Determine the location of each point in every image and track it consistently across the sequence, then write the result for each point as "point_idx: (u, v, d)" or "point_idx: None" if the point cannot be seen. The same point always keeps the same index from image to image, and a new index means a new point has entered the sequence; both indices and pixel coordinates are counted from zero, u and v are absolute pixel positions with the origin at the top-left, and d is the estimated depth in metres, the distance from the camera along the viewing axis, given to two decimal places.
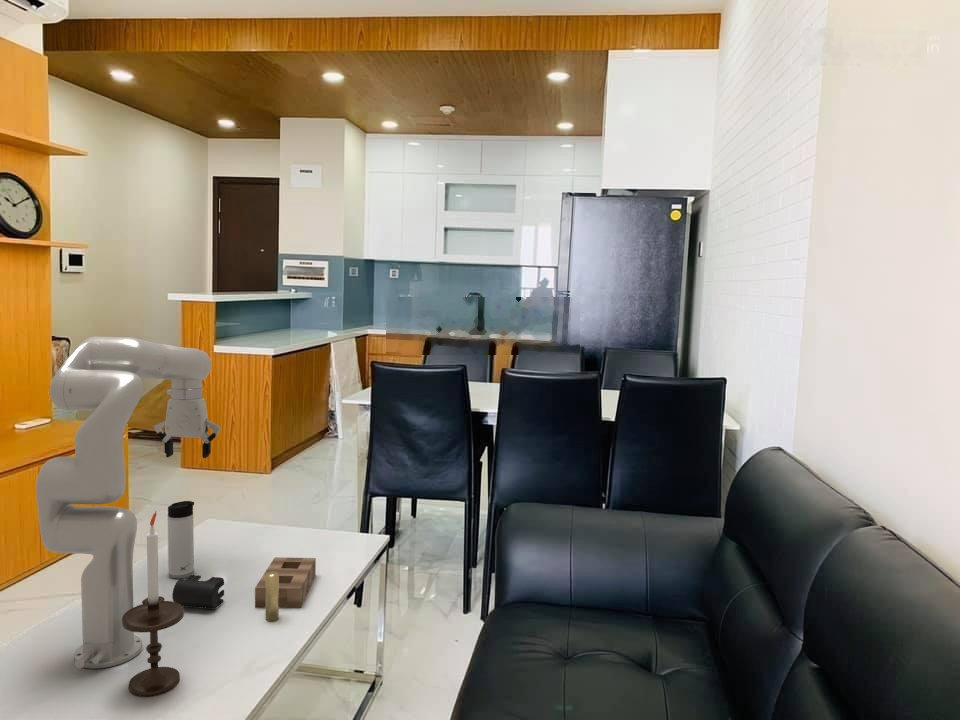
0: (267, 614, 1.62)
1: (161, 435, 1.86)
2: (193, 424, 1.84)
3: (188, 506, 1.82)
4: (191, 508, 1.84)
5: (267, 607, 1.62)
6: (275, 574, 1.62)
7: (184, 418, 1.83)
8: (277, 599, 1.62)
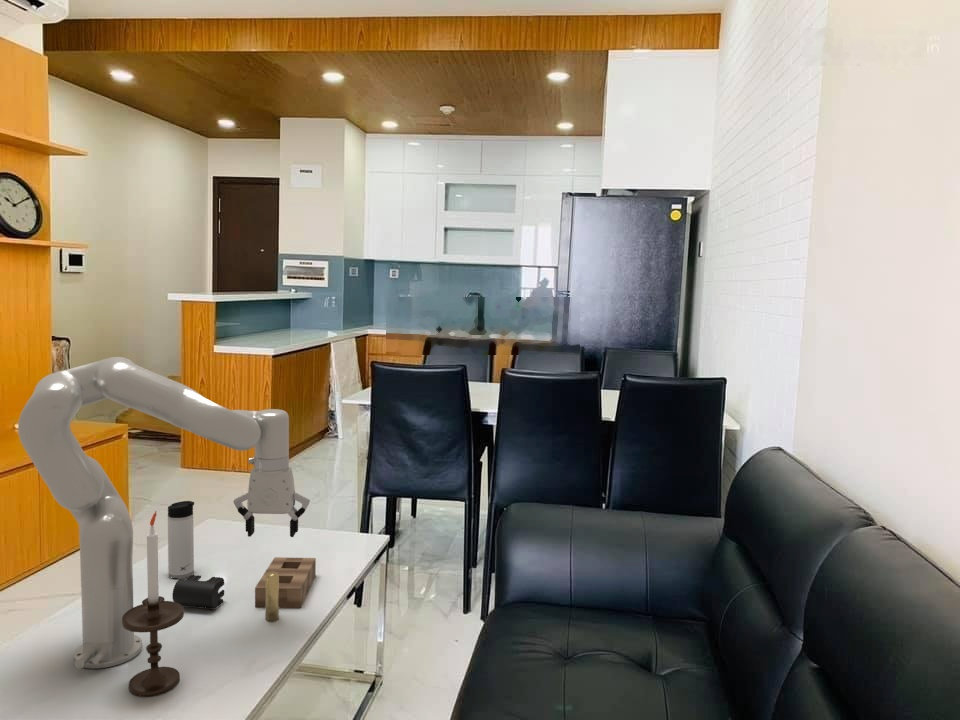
0: (267, 614, 1.62)
1: (242, 511, 1.59)
2: (280, 499, 1.58)
3: (188, 506, 1.82)
4: (191, 508, 1.84)
5: (267, 607, 1.62)
6: (275, 574, 1.62)
7: (270, 492, 1.57)
8: (277, 599, 1.62)
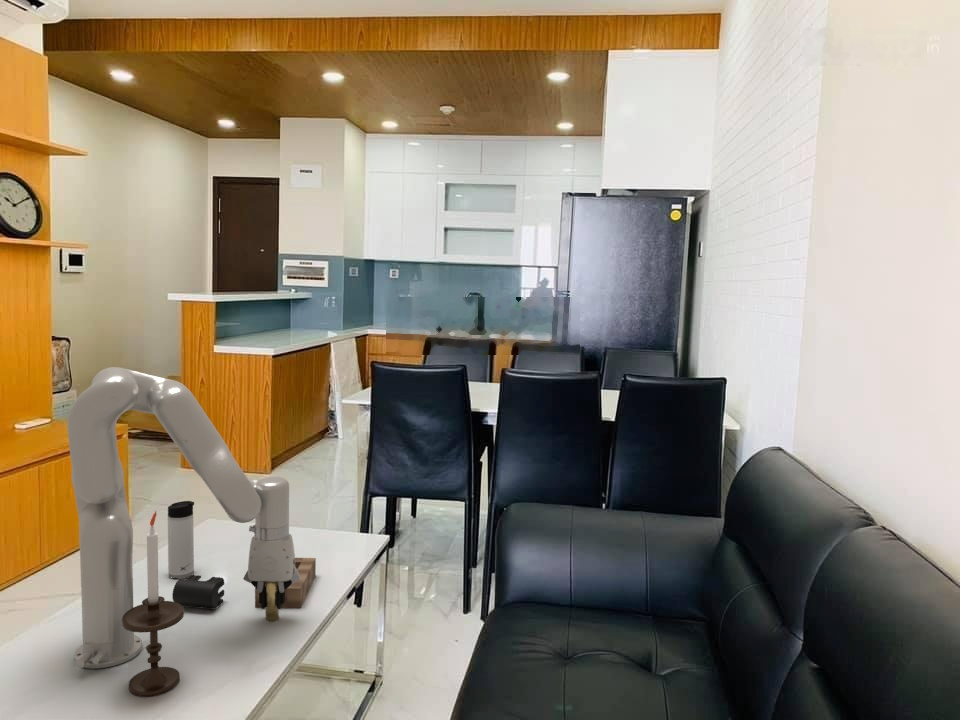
0: (267, 614, 1.62)
1: (255, 583, 1.61)
2: (280, 567, 1.59)
3: (188, 506, 1.82)
4: (191, 508, 1.84)
5: (267, 607, 1.62)
6: None
7: (270, 560, 1.59)
8: None
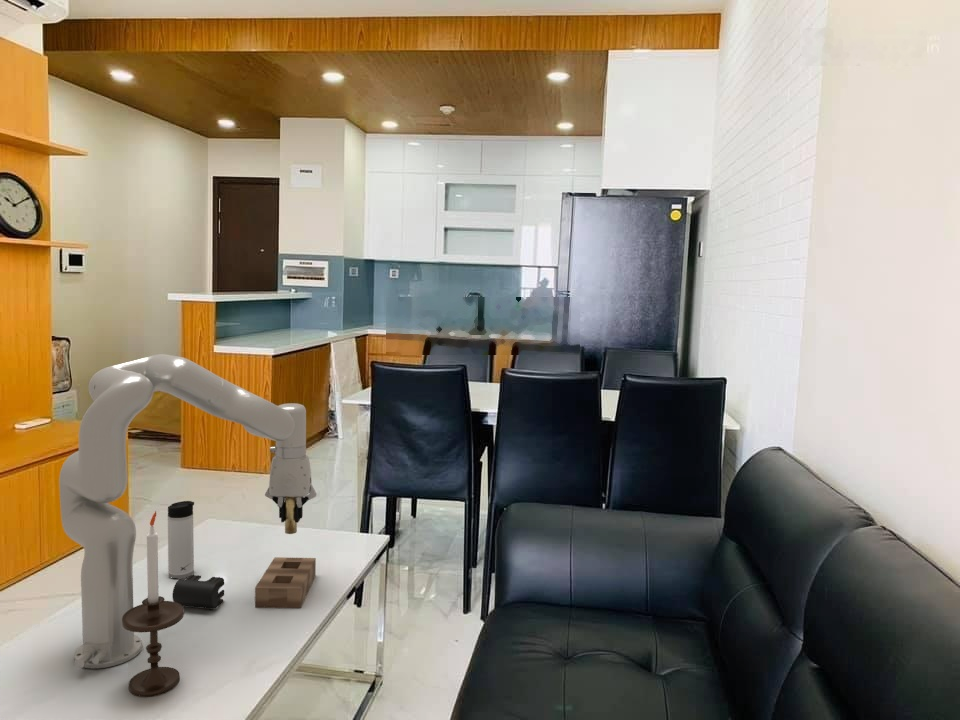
0: (286, 527, 1.79)
1: (276, 499, 1.78)
2: (298, 483, 1.76)
3: (188, 506, 1.82)
4: (191, 508, 1.84)
5: (286, 521, 1.79)
6: None
7: (289, 477, 1.76)
8: None
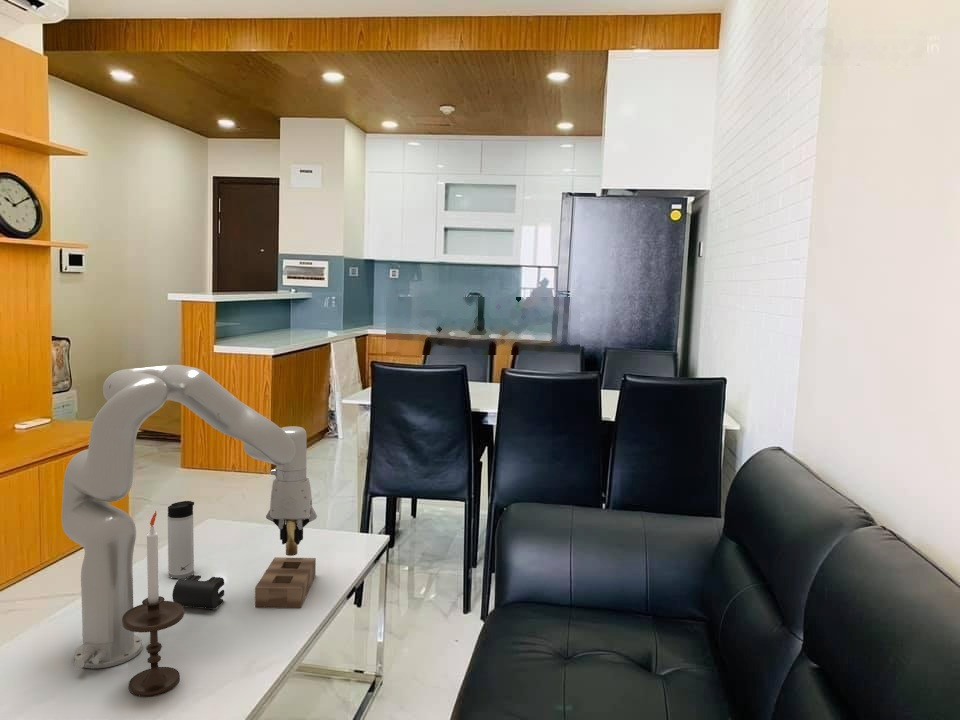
0: (287, 549, 1.80)
1: (277, 521, 1.80)
2: (299, 506, 1.78)
3: (188, 506, 1.82)
4: (191, 508, 1.84)
5: (287, 543, 1.80)
6: None
7: (290, 500, 1.78)
8: None
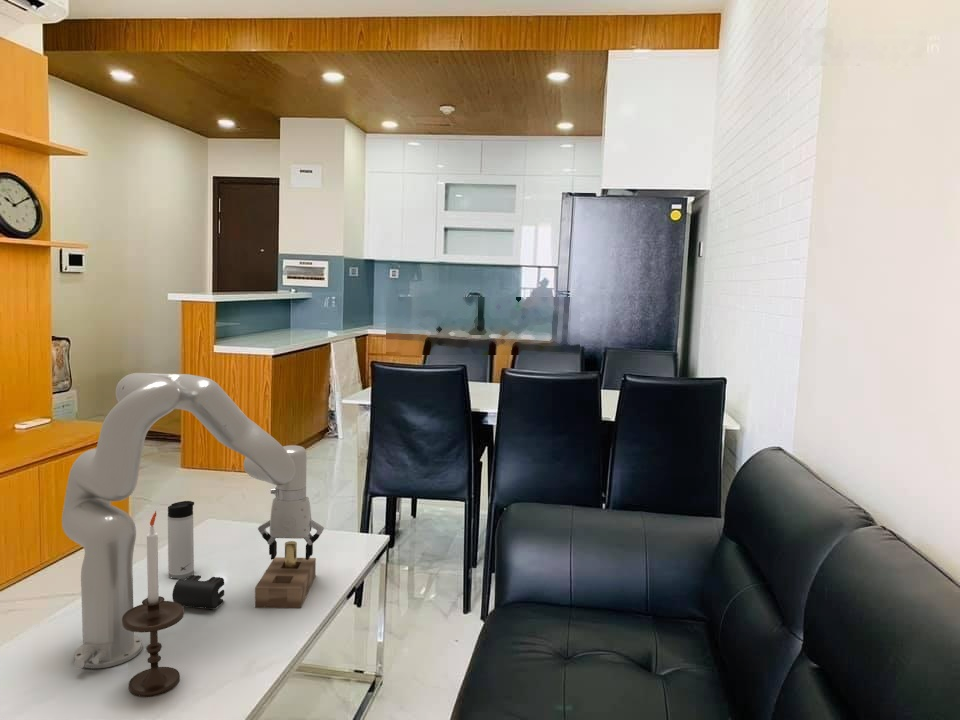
0: None
1: (266, 537, 1.80)
2: (298, 525, 1.78)
3: (188, 506, 1.82)
4: (191, 508, 1.84)
5: None
6: (293, 544, 1.81)
7: (289, 519, 1.78)
8: (295, 566, 1.82)
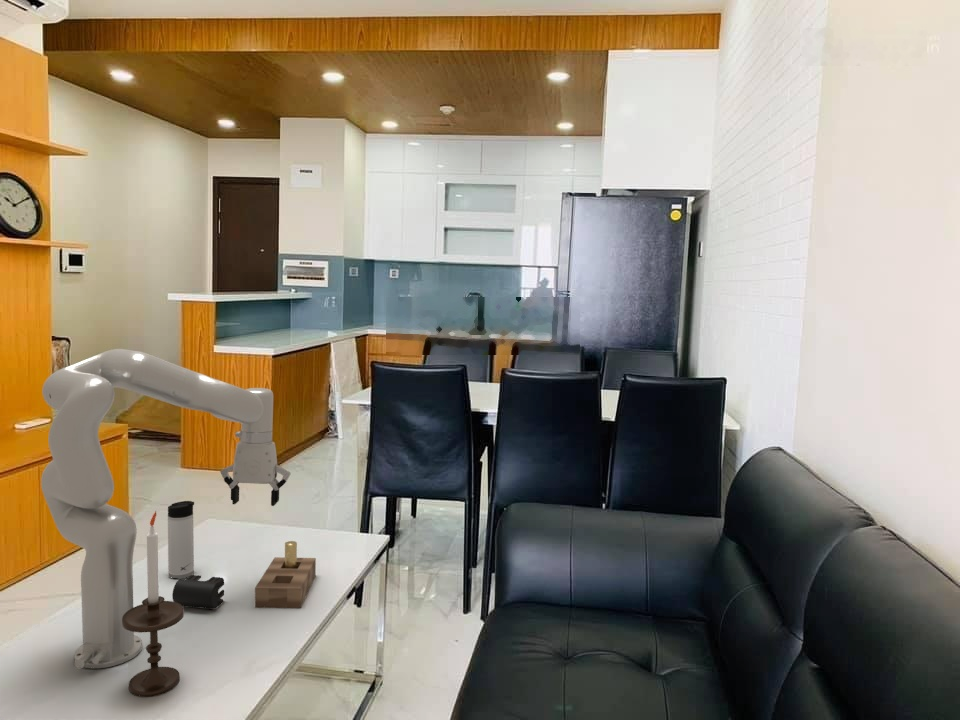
0: None
1: (228, 480, 1.74)
2: (263, 470, 1.72)
3: (188, 506, 1.82)
4: (191, 508, 1.84)
5: None
6: (293, 544, 1.81)
7: (253, 463, 1.72)
8: (295, 566, 1.82)
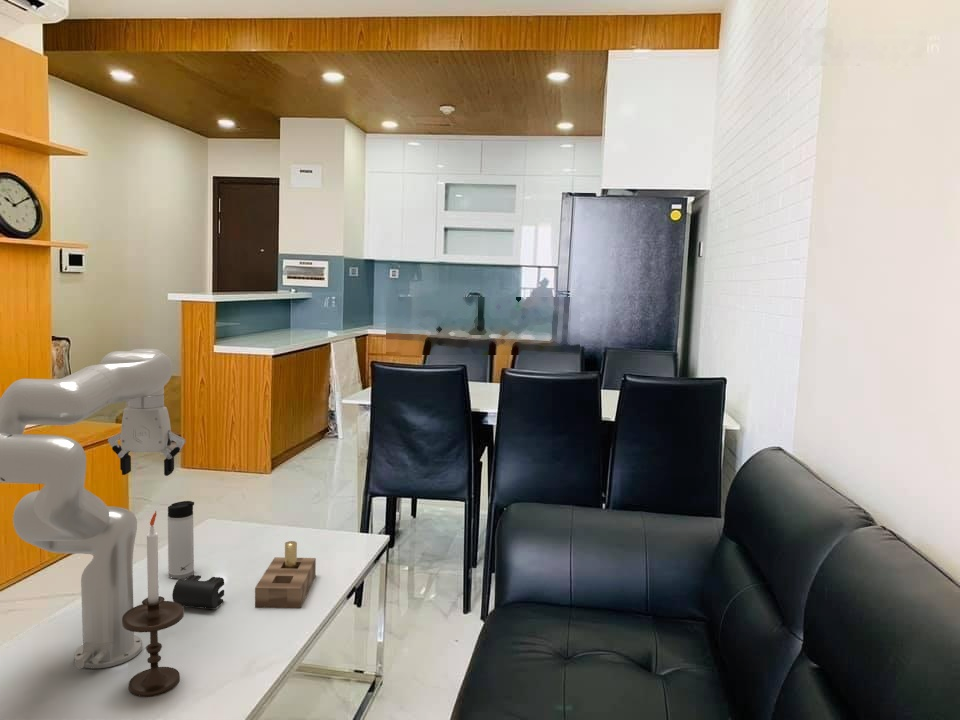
0: None
1: (116, 449, 1.61)
2: (153, 437, 1.59)
3: (188, 506, 1.82)
4: (191, 508, 1.84)
5: None
6: (293, 544, 1.81)
7: (142, 430, 1.58)
8: (295, 566, 1.82)
